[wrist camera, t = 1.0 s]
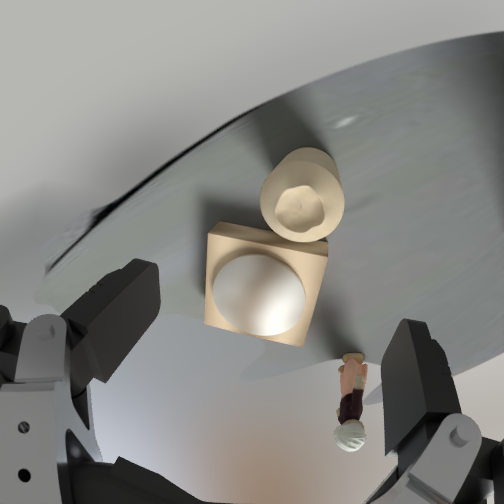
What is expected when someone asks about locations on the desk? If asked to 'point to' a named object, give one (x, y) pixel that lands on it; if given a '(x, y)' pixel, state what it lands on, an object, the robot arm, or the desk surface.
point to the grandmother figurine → (351, 403)
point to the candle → (303, 196)
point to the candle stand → (262, 282)
